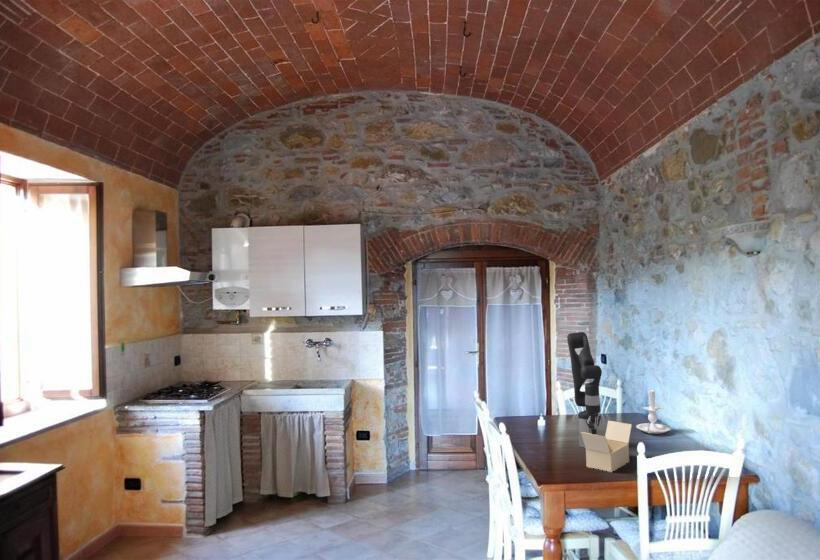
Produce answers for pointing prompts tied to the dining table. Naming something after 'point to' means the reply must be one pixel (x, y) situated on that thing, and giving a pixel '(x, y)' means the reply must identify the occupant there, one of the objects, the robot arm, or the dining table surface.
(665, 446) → the dining table surface
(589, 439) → the front flap
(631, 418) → the dining table surface
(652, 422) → the candlestick
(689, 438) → the dining table surface
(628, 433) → the back flap
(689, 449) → the dining table surface
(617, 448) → the carton
